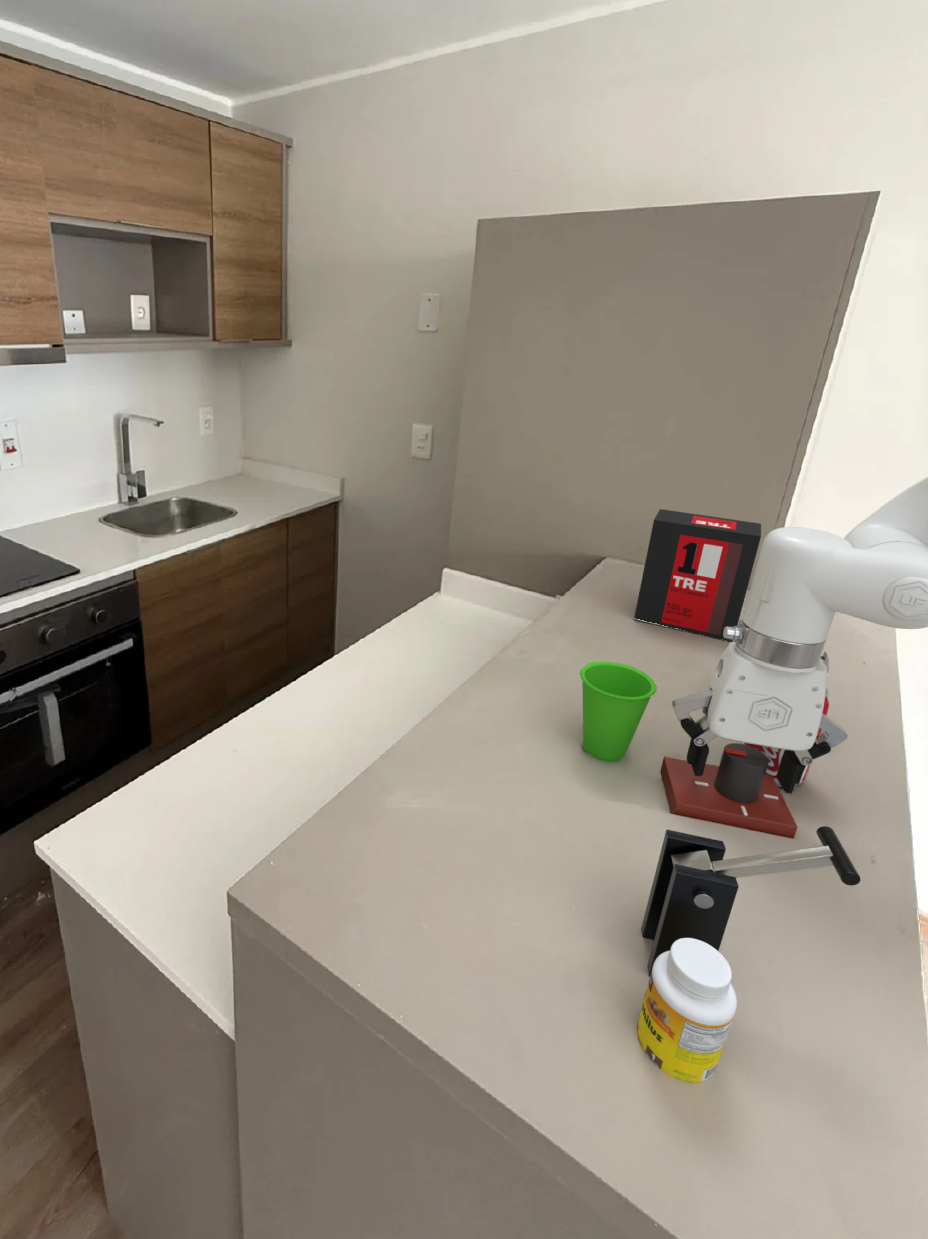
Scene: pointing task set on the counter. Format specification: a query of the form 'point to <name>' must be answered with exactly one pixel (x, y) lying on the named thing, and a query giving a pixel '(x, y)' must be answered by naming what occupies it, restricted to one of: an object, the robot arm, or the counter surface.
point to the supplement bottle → (687, 1010)
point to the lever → (779, 860)
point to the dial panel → (724, 801)
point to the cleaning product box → (697, 572)
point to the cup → (612, 707)
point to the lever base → (687, 897)
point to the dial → (741, 772)
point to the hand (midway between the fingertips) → (739, 777)
